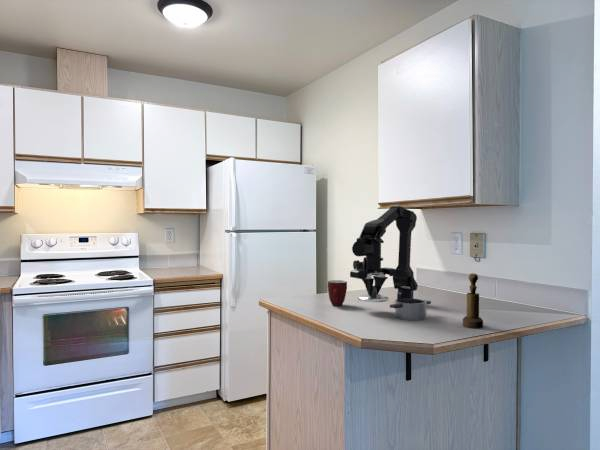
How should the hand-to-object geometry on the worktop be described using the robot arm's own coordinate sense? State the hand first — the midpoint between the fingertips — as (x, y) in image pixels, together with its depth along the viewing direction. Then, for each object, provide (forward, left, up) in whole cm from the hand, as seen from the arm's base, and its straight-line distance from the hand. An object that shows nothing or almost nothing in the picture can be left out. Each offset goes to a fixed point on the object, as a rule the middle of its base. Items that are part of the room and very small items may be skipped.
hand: (373, 295), depth 167 cm
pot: (-7, +13, -7) cm, 16 cm away
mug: (+5, -17, -7) cm, 19 cm away
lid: (0, 0, -2) cm, 2 cm away
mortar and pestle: (-16, +33, -7) cm, 37 cm away
